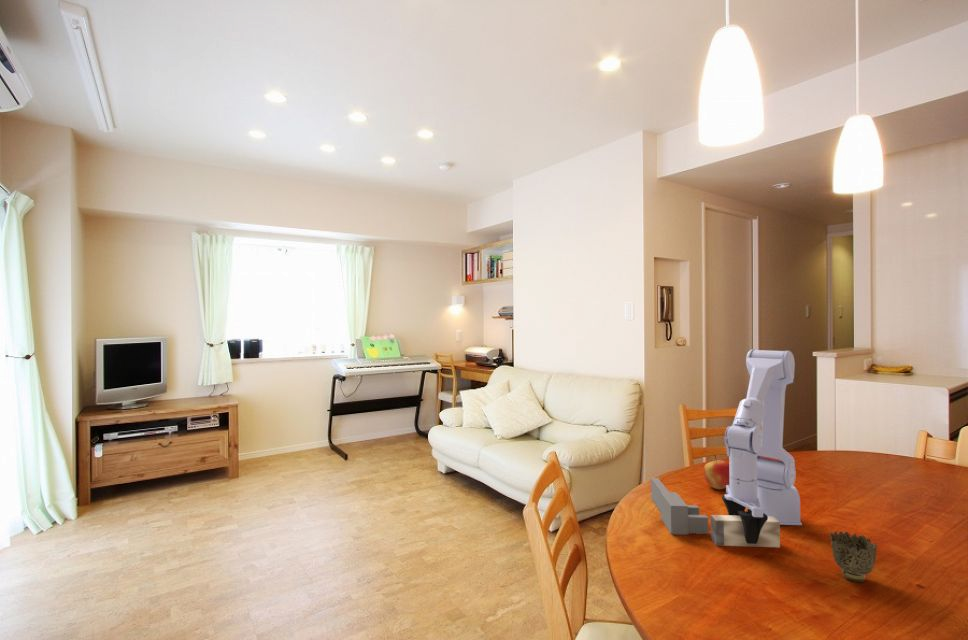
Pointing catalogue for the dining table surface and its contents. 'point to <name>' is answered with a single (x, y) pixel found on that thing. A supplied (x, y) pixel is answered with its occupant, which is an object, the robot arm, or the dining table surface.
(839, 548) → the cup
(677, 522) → the grey stepped block
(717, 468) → the apple
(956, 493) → the dining table surface
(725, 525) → the birch rail
